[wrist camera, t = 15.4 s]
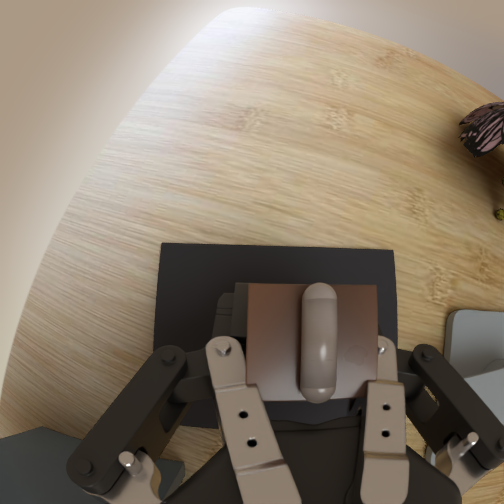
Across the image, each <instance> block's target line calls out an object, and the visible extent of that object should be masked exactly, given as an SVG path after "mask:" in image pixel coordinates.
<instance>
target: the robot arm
mask: <svg viewBox="0 0 504 504" xmlns="http://www.w3.org/2000/svg"><path fill="white" fill-rule="evenodd" d="M248 285H249V283H235V292H234V293H223V295H222V296H221V297H220V298H219V299H218V304H217V310H216V316H215V321H214V327H213V333H212V338H211V340H210V341H209V342H208V343H207V345H206V347H204V348H202V349H200V350H197V351H192V352H187V353H185V352H184V350H182V349H181V348H180V347H178V346H174V345H166V346H162V347H160V348H158V349H156V350H155V351H154V352H153V353H152V355H151V356H150V357H149V358H148V360H147V361H146V362H145V363H144V364H143V366H142V367H141V368H140V369H139V371H138V372H137V373H136V374H135V376H134V377H133V378H132V379H131V381H130V382H129V383H128V384H127V385H126V387H125V388H124V389H123V390H122V392H121V393H120V394H119V395H118V397H117V398H116V399H115V400H114V402H113V403H112V404H111V405H110V407H109V408H108V409H107V410H106V412H105V413H104V414H103V415H102V417H101V418H100V419H99V420H98V422H97V423H96V424H95V425H94V427H93V428H92V429H91V430H90V432H89V433H88V434H87V435H86V437H85V438H84V439H83V440H82V442H81V443H80V444H79V445H78V447H77V448H76V449H75V451H74V452H73V453H72V454H71V456H70V457H69V458H68V461H67V464H66V471H67V474H68V476H69V478H70V479H71V480H72V481H73V482H74V483H75V484H77V485H78V486H79V487H81V489H82V490H83V491H85V492H86V493H88V494H89V495H91V496H92V497H93V498H95V499H96V500H98V501H100V502H103V503H104V504H462V497H461V496H462V495H463V494H464V493H465V492H467V491H468V490H469V489H470V488H471V487H472V486H473V485H474V484H475V483H477V482H478V481H479V480H480V479H481V478H483V477H484V476H486V475H487V474H488V473H490V472H491V471H492V470H494V469H495V468H496V467H498V466H499V465H500V464H501V463H503V462H504V426H503V424H502V423H501V422H500V421H499V419H498V418H497V417H496V416H495V415H494V413H493V412H492V411H491V410H490V409H489V407H488V406H487V405H486V404H485V403H484V402H483V400H482V399H481V398H480V397H479V396H478V395H477V393H476V392H475V391H474V390H473V389H472V388H471V387H470V385H469V384H468V383H467V382H466V381H465V380H464V379H463V378H462V376H461V375H460V374H459V373H458V372H457V371H456V370H455V369H454V368H453V366H452V365H451V364H450V363H449V362H448V361H447V360H446V359H445V358H444V357H443V356H442V355H441V353H440V352H439V351H438V350H437V349H436V348H434V347H433V346H431V345H428V344H420V345H417V346H416V347H415V348H414V350H413V352H412V351H406V350H401V349H397V348H396V347H395V345H394V343H393V342H392V341H391V340H390V339H388V338H386V337H384V336H383V334H382V332H381V329H380V327H379V324H378V366H377V380H367V384H366V388H365V392H364V396H363V397H361V398H351V399H348V404H347V413H346V417H339V418H336V419H333V420H329V421H326V422H323V423H319V424H315V425H312V424H306V423H300V422H295V421H289V420H269V418H268V415H267V412H266V409H265V406H264V403H263V400H262V398H261V395H260V392H259V389H258V386H257V384H256V383H254V384H245V375H246V342H247V311H248ZM425 386H427V387H428V389H429V390H430V391H431V392H432V393H433V395H434V396H435V397H436V398H437V400H438V402H439V406H438V405H437V404H436V403H435V401H434V400H433V399H432V398H431V396H430V395H429V394H428V393H427V391H426V390H425V389H424V388H425ZM207 398H213V403H214V408H215V412H216V417H217V421H218V426H219V431H220V436H221V441H222V445H223V447H222V448H221V449H220V450H219V451H218V452H217V453H216V454H215V455H214V456H213V457H212V458H211V459H210V460H209V461H208V462H207V463H205V464H204V465H203V466H202V467H201V468H200V469H199V470H198V471H197V472H196V473H195V474H193V475H192V476H191V477H190V478H189V479H188V480H187V481H186V482H184V483H183V484H182V485H181V486H180V487H179V488H177V489H176V490H175V491H174V492H173V493H172V494H170V495H169V496H168V497H167V498H166V499H164V500H163V501H161V500H160V498H159V495H158V488H159V485H160V482H161V473H160V471H159V469H158V468H157V466H156V465H155V462H156V461H157V459H158V458H159V456H160V454H161V453H162V451H163V450H164V448H165V447H166V445H167V443H168V442H169V440H170V439H171V437H172V435H173V434H174V432H175V431H176V429H177V428H178V426H179V424H180V423H181V421H182V420H183V418H184V416H185V415H186V413H187V411H188V410H189V408H190V407H191V405H192V403H193V401H197V400H202V399H207ZM406 415H407V417H408V418H409V419H410V421H411V422H412V423H413V425H414V426H415V428H416V429H417V430H418V432H419V433H420V434H421V436H422V437H423V439H424V440H425V441H426V443H427V444H428V446H429V447H430V448H431V450H432V451H433V453H434V454H435V455H436V456H435V465H434V466H433V465H432V464H430V463H429V462H428V461H427V460H425V459H424V458H423V457H421V456H420V455H419V454H418V453H416V452H415V451H414V450H412V449H411V448H410V447H409V446H407V445H406Z"/></svg>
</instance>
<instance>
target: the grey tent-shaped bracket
mask: <svg viewBox="0 0 504 504" xmlns="http://www.w3.org/2000/svg"><path fill="white" fill-rule="evenodd" d="M81 442H82V440H80V439H77V438H74V437H70V436H67V435H65V434H62V433H59V432H56V431H53V430H50V429H48V428H45V427H43V426H41V427H38V428H35V429H32V430H29V431H26V432H22V433H19V434H16V435H12V436H9V437H5V438H2V439H0V504H104V503H103V502H100V501H98V500H96V499H95V498H93V497H92V496H91V495H89V494H88V493H86V492H85V491H83V490H82V489H81V487H79V486H78V485H77V484H75V483H74V482H73V481H72V480H71V479H70V478H69V476H68V474H67V471H66V464H67V461H68V458H69V457H70V456H71V454H72V453H73V452H74V451H75V449H76V448H77V447H78V445H79V444H80V443H81ZM155 465H156V466H157V468H158V469H159V471H160V473H161V482H160V485H159V488H158V495H159V498H160V500H161V501H163V500H164V499H166V498H167V497H168V496H169V495H170V494H172V493H173V492H174V491H175V490H176V489H177V488H179V486H180V484H181V482H182V480H183V478H184V476H185V469H184V462H179V461H172V460H166V459H160V458H158V459H157V461H156V462H155Z"/></svg>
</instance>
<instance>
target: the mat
mask: <svg viewBox="0 0 504 504" xmlns="http://www.w3.org/2000/svg"><path fill="white" fill-rule="evenodd" d="M235 283H259V284H305V285H312V284H315V283H325V284H327V285H376V286H377V304H378V324H379V327H380V329H381V332H382V334H383V336H384V337H386V338H388V339H390V340H391V341H392V342H393V343H394V345H395V347H396V348H397V346H398V329H397V294H396V277H395V263H394V252H393V250H379V249H350V248H321V247H290V246H257V245H222V244H184V243H162V244H161V253H160V262H159V273H158V284H157V296H156V309H155V325H154V345H153V352H154V351H155V350H156V349H158V348H160V347H162V346H166V345H174V346H178V347H180V348H181V349H182V350H184V352H185V353H187V352H192V351H197V350H200V349H202V348H204V347H206V345H207V343H208V342H209V341H210V340H211V338H212V333H213V327H214V321H215V316H216V310H217V304H218V299H219V298H220V297H221V296H222V295H223V293H234V292H235ZM263 403H264V406H265V409H266V412H267V415H268V418H269V420H289V421H295V422H300V423H306V424H312V425H315V424H319V423H323V422H326V421H329V420H333V419H336V418H339V417H346V413H347V404H348V399H338V400H327V401H325V402H323V403H312V402H309V401H292V402H263ZM179 425H182V426H191V427H201V428H213V429H219V426H218V421H217V417H216V412H215V408H214V403H213V398H207V399H202V400H197V401H193V403H192V405H191V407H190V408H189V410H188V411H187V413H186V415H185V416H184V418H183V420H182V421H181V423H180V424H179Z"/></svg>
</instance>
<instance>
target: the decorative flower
mask: <svg viewBox="0 0 504 504" xmlns="http://www.w3.org/2000/svg"><path fill="white" fill-rule="evenodd" d="M474 120H475V121H474ZM471 121H474V122H473V123H471V124H470V125H469V126H468V127H467V128H466V129H465V130H464V131H463V132H462V133H461V135H460V136H459V137H461V141H462V140H464V139H465V138H467V140H466V142H465V143H464V146H465V147H466V148H467V149H468V151H469V152H470V153H472V154H473V156H474V157H475V156H477V157H480V156H484V155H486V154H488V153H490V152H491V151H493V150H494V149H495V148H496V147H497V146H498V145H500V144H504V102H495V103H489V104H486V105H483V106H481V107H479V108H477V109H475V110H474V111H472V112H471V113H470V114H469V115H467V116H466V117H465V118H464V119H463V120H462V121H461V122H460V123H459V126H460V125H462V124H467V123H470V122H471ZM459 137H458V138H459ZM502 184H503V185H504V177H503V178H502ZM496 217H497V218H498V219H499V220H503V219H504V209H501V208H500V209H499V210H497V212H496Z"/></svg>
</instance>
